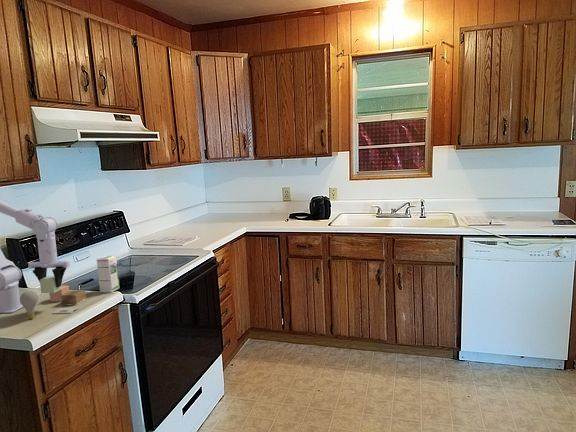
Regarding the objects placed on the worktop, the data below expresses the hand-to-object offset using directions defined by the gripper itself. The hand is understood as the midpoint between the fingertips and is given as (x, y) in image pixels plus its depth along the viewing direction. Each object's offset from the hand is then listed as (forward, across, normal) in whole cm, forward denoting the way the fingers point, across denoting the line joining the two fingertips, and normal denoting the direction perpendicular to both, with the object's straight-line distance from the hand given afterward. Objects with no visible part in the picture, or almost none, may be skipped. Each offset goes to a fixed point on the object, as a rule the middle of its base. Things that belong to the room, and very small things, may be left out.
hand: (51, 286), depth 155 cm
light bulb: (+9, -2, -10) cm, 14 cm away
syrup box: (+9, +11, +22) cm, 26 cm away
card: (+8, +6, -3) cm, 11 cm away
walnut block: (+9, +4, +7) cm, 12 cm away
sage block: (+2, 0, 0) cm, 2 cm away
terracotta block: (+8, -4, +11) cm, 14 cm away
